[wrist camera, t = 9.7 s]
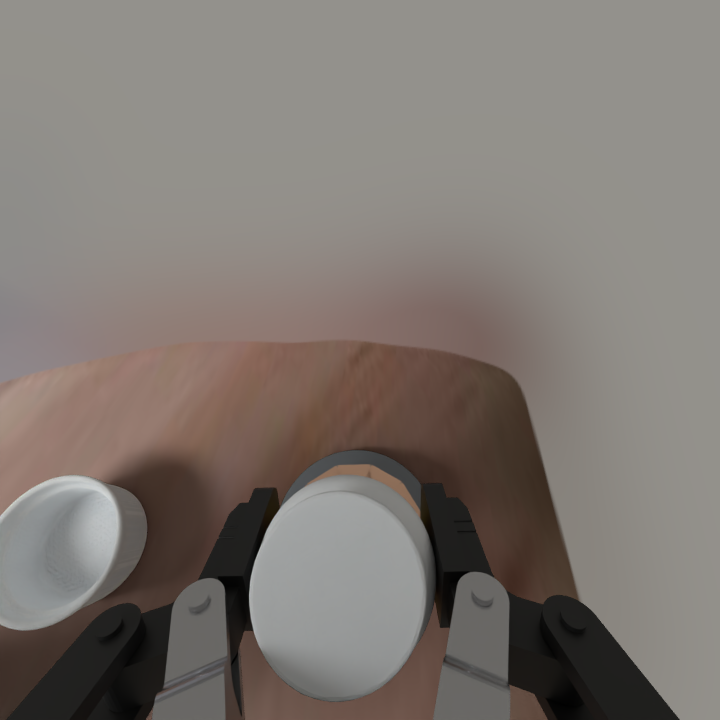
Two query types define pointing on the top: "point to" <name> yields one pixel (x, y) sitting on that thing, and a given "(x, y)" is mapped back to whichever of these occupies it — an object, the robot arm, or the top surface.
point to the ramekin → (66, 549)
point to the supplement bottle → (342, 587)
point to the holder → (363, 473)
